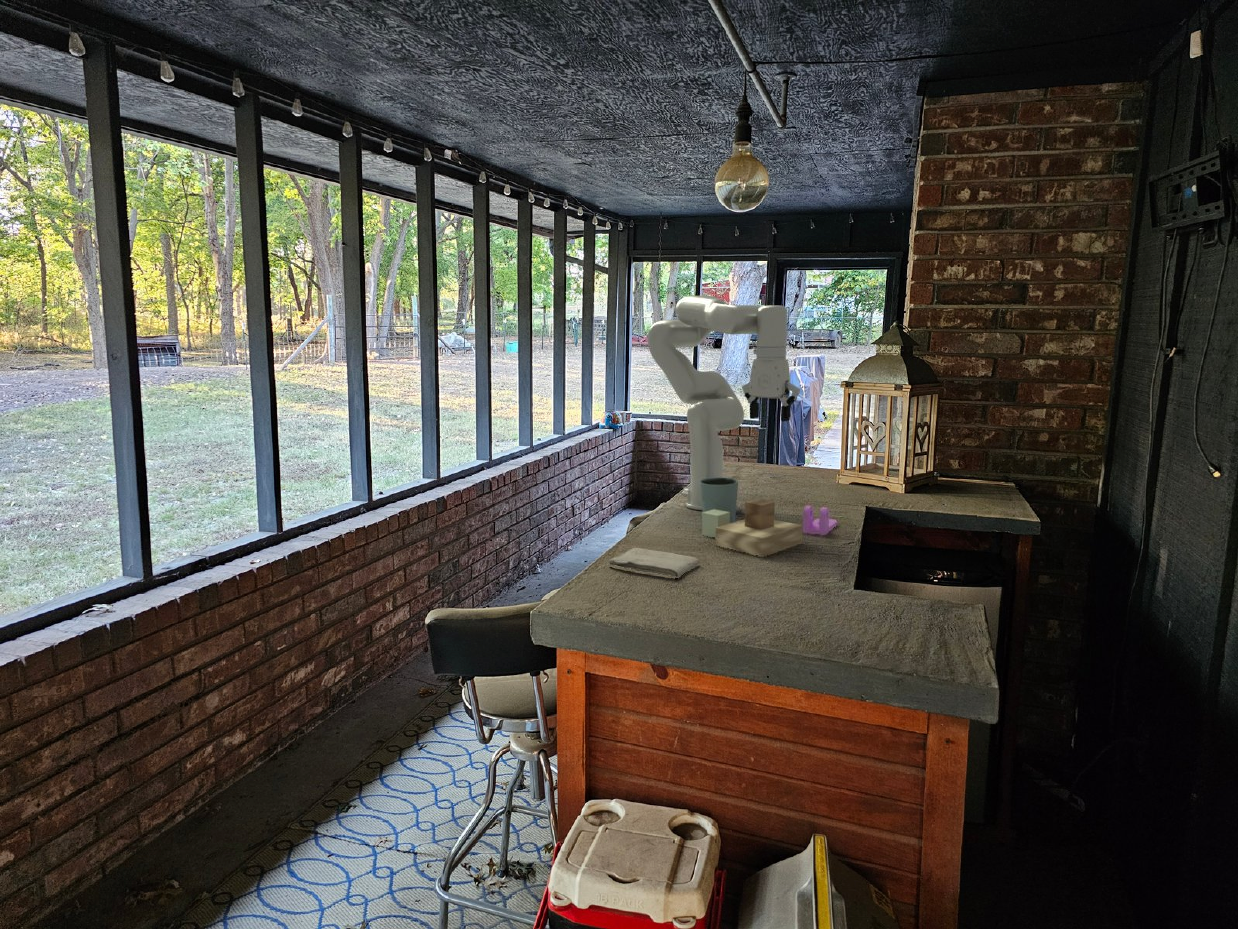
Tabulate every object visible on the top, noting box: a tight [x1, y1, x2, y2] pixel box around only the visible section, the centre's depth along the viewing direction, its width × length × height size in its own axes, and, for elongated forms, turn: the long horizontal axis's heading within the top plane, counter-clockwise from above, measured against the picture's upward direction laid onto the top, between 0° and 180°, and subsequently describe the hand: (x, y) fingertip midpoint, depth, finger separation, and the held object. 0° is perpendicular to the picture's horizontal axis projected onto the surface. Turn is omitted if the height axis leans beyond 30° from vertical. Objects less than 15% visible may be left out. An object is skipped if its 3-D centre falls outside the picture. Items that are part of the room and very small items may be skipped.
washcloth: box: [608, 547, 700, 577], centre depth 172 cm, size 12×18×3 cm, turn 60°
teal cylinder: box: [700, 476, 739, 523], centre depth 207 cm, size 10×10×12 cm
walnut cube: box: [744, 498, 776, 530], centre depth 188 cm, size 5×5×6 cm
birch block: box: [715, 518, 803, 558], centre depth 188 cm, size 14×16×5 cm
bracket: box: [802, 505, 838, 536], centre depth 202 cm, size 13×6×7 cm, turn 148°
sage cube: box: [701, 509, 730, 539], centre depth 197 cm, size 5×5×6 cm
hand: (769, 419), depth 204 cm, fingers open, 9 cm apart
